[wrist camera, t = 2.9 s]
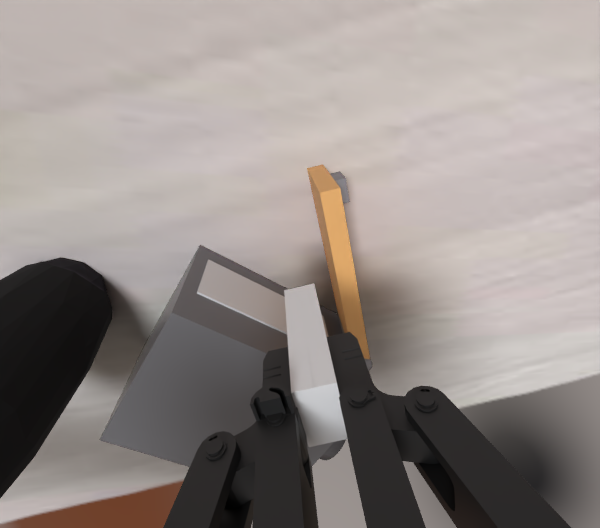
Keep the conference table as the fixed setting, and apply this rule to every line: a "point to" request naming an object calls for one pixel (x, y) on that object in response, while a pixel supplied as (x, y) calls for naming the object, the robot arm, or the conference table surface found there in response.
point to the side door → (338, 250)
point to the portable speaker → (44, 351)
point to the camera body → (205, 362)
